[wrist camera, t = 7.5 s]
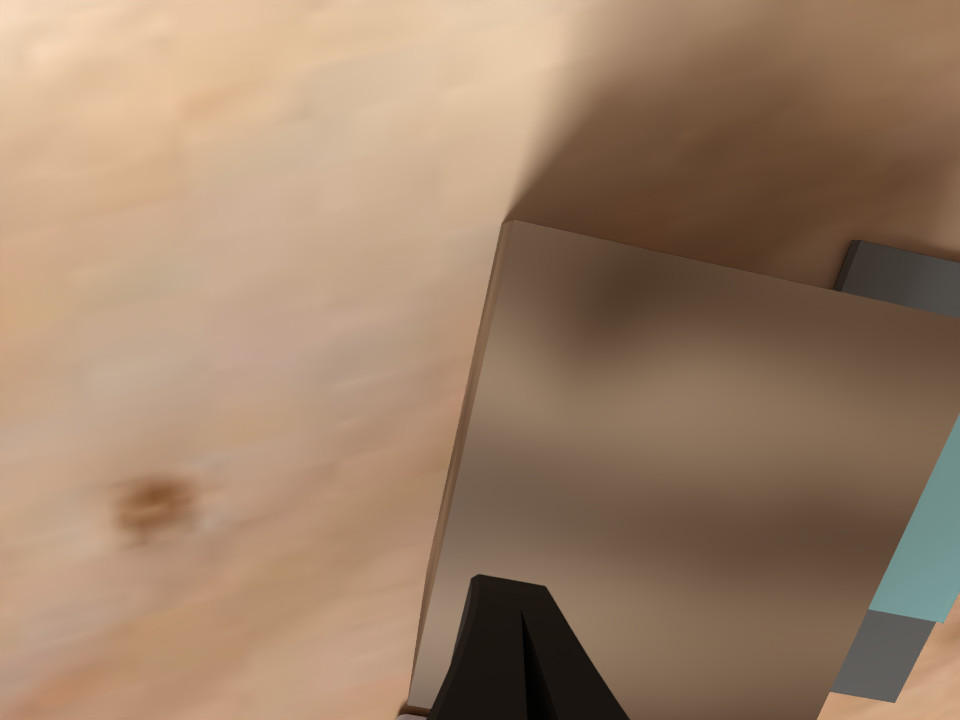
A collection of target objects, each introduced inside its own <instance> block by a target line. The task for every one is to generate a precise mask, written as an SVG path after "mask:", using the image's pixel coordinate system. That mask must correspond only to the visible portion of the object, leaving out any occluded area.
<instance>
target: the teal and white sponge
mask: <svg viewBox="0 0 960 720" xmlns="http://www.w3.org/2000/svg"><path fill="white" fill-rule="evenodd" d="M959 592H960V414H959V416H958V418H957V420H956V422H955V424H954V427H953V429H952V431H951V433H950V435H949V437H948V439H947V442H946V444H945V446H944V448H943V450H942V452H941V454H940V457H939V459H938V461H937V463H936V465H935V467H934V469H933V472H932V474H931V476H930V478H929V480H928V482H927V484H926V486H925V489H924V491H923V493H922V495H921V497H920V499H919V501H918V504H917V506H916V508H915V510H914V512H913V514H912V516H911V519H910V521H909V523H908V525H907V527H906V529H905V531H904V534H903V536H902V538H901V540H900V542H899V544H898V546H897V549H896V551H895V553H894V555H893V557H892V559H891V561H890V564H889V566H888V568H887V570H886V572H885V574H884V576H883V578H882V581H881V583H880V585H879V587H878V589H877V591H876V593H875V596H874V598H873V600H872V602H871V604H870V606H869V608H868V609H870V610H875V611H881V612H886V613H892V614H897V615H902V616H908V617H913V618H919V619H924V620H929V621H935V622H940V623H944V621H945V619H946V617H947V615H948V613H949V611H950V609H951V607H952V606H953V604H954V602H955V600H956V598H957V596H958V594H959Z"/></svg>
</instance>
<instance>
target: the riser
mask: <svg viewBox="0 0 960 720" xmlns="http://www.w3.org/2000/svg"><path fill="white" fill-rule="evenodd" d="M959 414H960V318H956V317H951V316H947V315H942V314H938V313H933V312H929V311H924V310H920V309H915V308H911V307H906V306H902V305H897V304H893V303H888V302H884V301H879V300H875V299H870V298H866V297H861V296H857V295H852V294H848V293H843V292H839V291H834V290H830V289H825V288H821V287H816V286H812V285H807V284H803V283H798V282H794V281H789V280H785V279H780V278H776V277H771V276H767V275H762V274H758V273H753V272H749V271H744V270H740V269H735V268H731V267H726V266H722V265H717V264H713V263H708V262H704V261H699V260H695V259H690V258H686V257H681V256H677V255H672V254H668V253H663V252H659V251H654V250H650V249H645V248H641V247H636V246H632V245H627V244H623V243H618V242H614V241H609V240H605V239H600V238H596V237H591V236H587V235H582V234H578V233H573V232H569V231H564V230H560V229H555V228H551V227H546V226H542V225H537V224H533V223H528V222H524V221H519V220H515V219H514V220H512V221H509V222H506V223H503V224H502V225H501V229H500V234H499V239H498V243H497V248H496V253H495V257H494V262H493V266H492V271H491V276H490V280H489V285H488V290H487V294H486V299H485V304H484V308H483V313H482V317H481V322H480V327H479V331H478V336H477V341H476V345H475V350H474V355H473V359H472V364H471V368H470V373H469V378H468V382H467V387H466V392H465V396H464V401H463V406H462V410H461V415H460V419H459V424H458V429H457V433H456V438H455V443H454V447H453V452H452V457H451V461H450V466H449V470H448V475H447V480H446V484H445V489H444V494H443V498H442V503H441V508H440V512H439V517H438V521H437V526H436V531H435V535H434V540H433V545H432V549H431V554H430V559H429V563H428V568H427V573H426V579H425V586H424V593H423V600H422V607H421V614H420V620H419V627H418V634H417V641H416V648H415V655H414V661H413V668H412V675H411V682H410V689H409V696H408V702H407V705H409V706H416V707H422V708H428V709H431V708H432V706H433V704H434V701H435V699H436V697H437V695H438V692H439V690H440V688H441V686H442V683H443V681H444V679H445V677H446V674H447V672H448V670H449V667H450V665H451V659H452V655H453V651H454V647H455V642H456V638H457V634H458V630H459V626H460V622H461V617H462V613H463V609H464V605H465V601H466V597H467V593H468V588H469V584H470V580H471V578H472V577H474V576H476V575H477V574H483V575H488V576H494V577H499V578H505V579H510V580H516V581H521V582H527V583H533V584H538V585H544V586H546V587H547V589H548V590H549V592H550V593H551V595H552V597H553V598H554V600H555V602H556V603H557V605H558V607H559V608H560V610H561V612H562V613H563V615H564V617H565V619H566V620H567V622H568V624H569V625H570V627H571V629H572V630H573V632H574V634H575V635H576V637H577V638H578V640H579V642H580V643H581V645H582V647H583V648H584V650H585V652H586V653H587V655H588V656H589V658H590V660H591V661H592V663H593V664H594V666H595V667H596V669H597V670H598V672H599V674H600V675H601V677H602V678H603V680H604V681H605V683H606V684H607V686H608V687H609V689H610V690H611V692H612V693H613V695H614V696H615V698H616V700H617V701H618V703H619V704H620V705H621V707H622V708H623V710H624V711H625V713H626V714H627V716H628V717H629V719H630V720H817V718H818V715H819V713H820V711H821V709H822V707H823V705H824V703H825V700H826V698H827V696H828V694H829V692H830V690H831V688H832V685H833V683H834V681H835V679H836V677H837V675H838V673H839V670H840V668H841V666H842V664H843V662H844V660H845V658H846V656H847V653H848V651H849V649H850V647H851V645H852V643H853V641H854V638H855V636H856V634H857V632H858V630H859V628H860V626H861V623H862V621H863V619H864V617H865V615H866V613H867V611H868V608H869V606H870V604H871V602H872V600H873V598H874V596H875V593H876V591H877V589H878V587H879V585H880V583H881V581H882V578H883V576H884V574H885V572H886V570H887V568H888V566H889V564H890V561H891V559H892V557H893V555H894V553H895V551H896V549H897V546H898V544H899V542H900V540H901V538H902V536H903V534H904V531H905V529H906V527H907V525H908V523H909V521H910V519H911V516H912V514H913V512H914V510H915V508H916V506H917V504H918V501H919V499H920V497H921V495H922V493H923V491H924V489H925V486H926V484H927V482H928V480H929V478H930V476H931V474H932V472H933V469H934V467H935V465H936V463H937V461H938V459H939V457H940V454H941V452H942V450H943V448H944V446H945V444H946V442H947V439H948V437H949V435H950V433H951V431H952V429H953V427H954V424H955V422H956V420H957V418H958V416H959Z"/></svg>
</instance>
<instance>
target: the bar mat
mask: <svg viewBox="0 0 960 720" xmlns="http://www.w3.org/2000/svg"><path fill="white" fill-rule="evenodd" d="M834 291H839V292H843V293H848V294H852V295H857V296H861V297H866V298H870V299H875V300H879V301H884V302H888V303H893V304H897V305H902V306H906V307H911V308H915V309H920V310H924V311H929V312H933V313H938V314H942V315H947V316H951V317H956V318H960V263H957V262H953V261H949V260H944V259H940V258H935V257H931V256H927V255H922V254H918V253H914V252H909V251H905V250H900V249H896V248H892V247H887V246H883V245H879V244H874V243H870V242H866V241H861V240H852V243H851V245H850V248H849V251H848V253H847V256H846V258H845V261H844V264H843V266H842V269H841V272H840V274H839V277H838V279H837V282H836V285H835V287H834ZM935 623H936V622H935V621H929V620H924V619H919V618H913V617H908V616H902V615H897V614H892V613H886V612H881V611H875V610H870V609H868V611H867V613H866V615H865V617H864V619H863V621H862V623H861V626H860V628H859V630H858V632H857V634H856V636H855V638H854V641H853V643H852V645H851V647H850V649H849V651H848V653H847V656H846V658H845V660H844V662H843V664H842V666H841V668H840V670H839V673H838V675H837V677H836V679H835V681H834V683H833V685H832V688H831V690H830V692H835V693H841V694H846V695H852V696H858V697H864V698H869V699H875V700H881V701H887V702H892V703H895V702H896V700H897V698H898V696H899V694H900V692H901V690H902V688H903V686H904V684H905V682H906V680H907V678H908V676H909V674H910V672H911V670H912V668H913V666H914V664H915V662H916V660H917V658H918V656H919V654H920V652H921V650H922V649H923V647H924V645H925V643H926V641H927V639H928V637H929V635H930V633H931V631H932V629H933V627H934V625H935Z"/></svg>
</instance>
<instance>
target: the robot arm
mask: <svg viewBox="0 0 960 720" xmlns="http://www.w3.org/2000/svg"><path fill="white" fill-rule="evenodd" d="M396 720H630V719H629V717H628V716H627V714H626V713H625V711H624V710H623V708H622V707H621V705H620V704H619V703H618V701H617V700H616V698H615V696H614V695H613V693H612V692H611V690H610V689H609V687H608V686H607V684H606V683H605V681H604V680H603V678H602V677H601V675H600V674H599V672H598V670H597V669H596V667H595V666H594V664H593V663H592V661H591V660H590V658H589V656H588V655H587V653H586V652H585V650H584V648H583V647H582V645H581V643H580V642H579V640H578V638H577V637H576V635H575V634H574V632H573V630H572V629H571V627H570V625H569V624H568V622H567V620H566V619H565V617H564V615H563V613H562V612H561V610H560V608H559V607H558V605H557V603H556V602H555V600H554V598H553V597H552V595H551V593H550V592H549V590H548V589H547V587H546V586H544V585H538V584H533V583H527V582H521V581H516V580H510V579H505V578H499V577H494V576H488V575H483V574H477V575H476V576H474V577H472V578H471V580H470V584H469V588H468V593H467V597H466V601H465V605H464V609H463V613H462V617H461V622H460V626H459V630H458V634H457V638H456V642H455V647H454V651H453V655H452V659H451V665H450V667H449V670H448V672H447V674H446V677H445V679H444V681H443V683H442V686H441V688H440V690H439V692H438V695H437V697H436V699H435V701H434V704H433V706H432V708H431V710H430V712H429V715H428V717H422V716H416V715H409V714H403V715H400V716H398V717H397V718H396Z"/></svg>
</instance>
